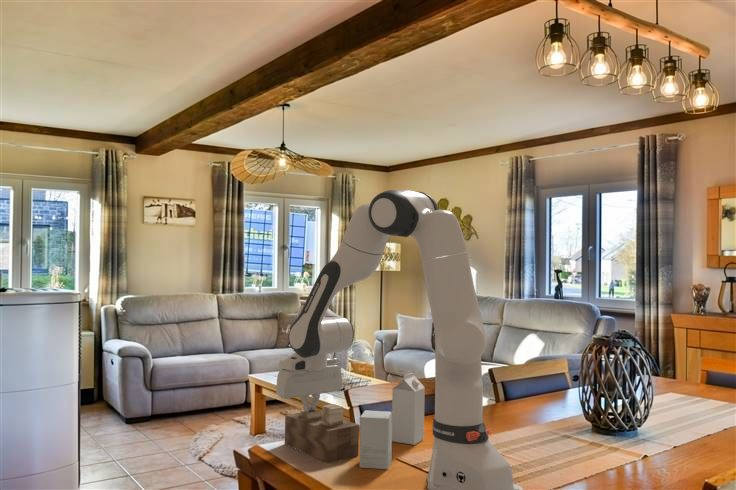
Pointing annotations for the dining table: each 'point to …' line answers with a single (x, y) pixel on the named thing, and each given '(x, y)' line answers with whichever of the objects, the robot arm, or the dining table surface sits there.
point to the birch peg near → (332, 415)
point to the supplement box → (375, 439)
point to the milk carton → (408, 411)
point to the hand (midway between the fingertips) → (309, 410)
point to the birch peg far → (310, 414)
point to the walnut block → (322, 437)
